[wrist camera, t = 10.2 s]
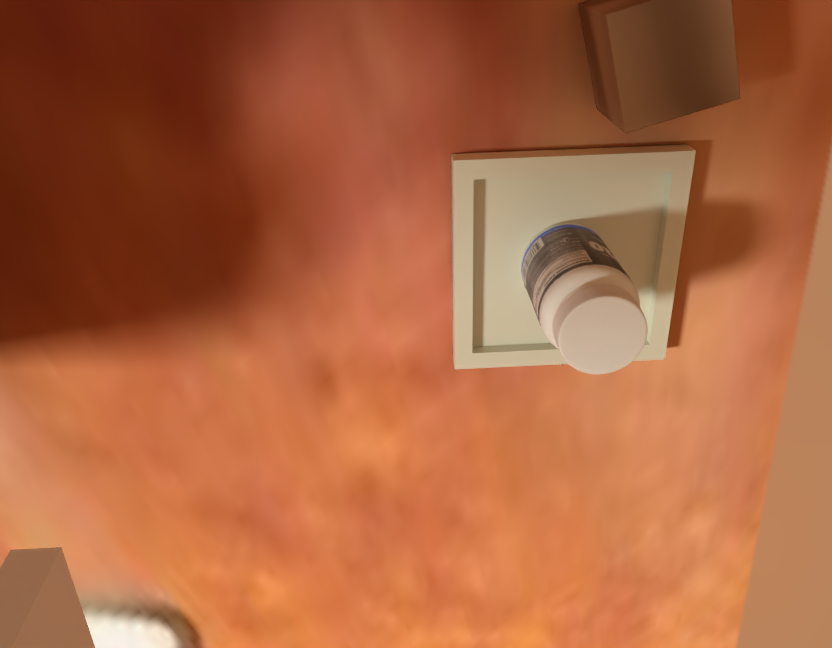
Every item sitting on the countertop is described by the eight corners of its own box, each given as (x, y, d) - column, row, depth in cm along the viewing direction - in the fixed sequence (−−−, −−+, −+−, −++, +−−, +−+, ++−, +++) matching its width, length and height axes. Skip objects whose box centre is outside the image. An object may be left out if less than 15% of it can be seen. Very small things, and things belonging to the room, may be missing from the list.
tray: (452, 358, 43) (454, 369, 42) (451, 153, 38) (453, 160, 36) (657, 348, 43) (664, 359, 42) (687, 144, 38) (695, 150, 37)
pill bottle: (620, 273, 41) (674, 350, 33) (544, 315, 42) (579, 400, 34) (582, 203, 39) (630, 269, 31) (503, 249, 40) (531, 324, 32)
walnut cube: (596, 108, 37) (625, 133, 32) (577, 3, 35) (606, 14, 30) (696, 77, 36) (740, 98, 32) (684, -31, 34) (729, -25, 30)
